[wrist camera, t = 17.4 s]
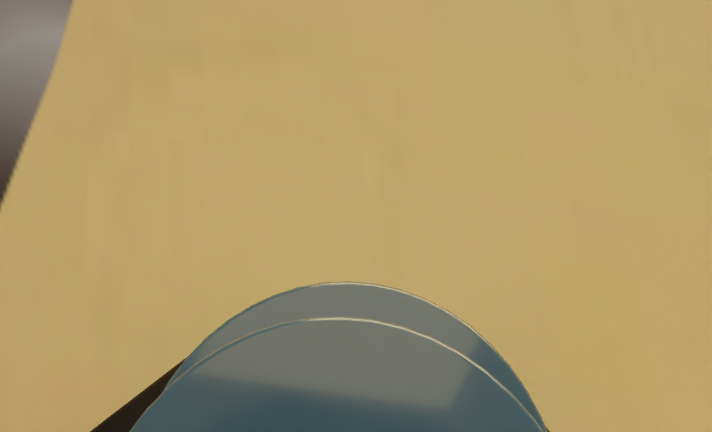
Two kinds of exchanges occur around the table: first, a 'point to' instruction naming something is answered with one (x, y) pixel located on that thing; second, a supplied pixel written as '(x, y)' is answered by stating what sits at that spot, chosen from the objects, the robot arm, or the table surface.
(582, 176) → the table surface
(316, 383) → the vase
